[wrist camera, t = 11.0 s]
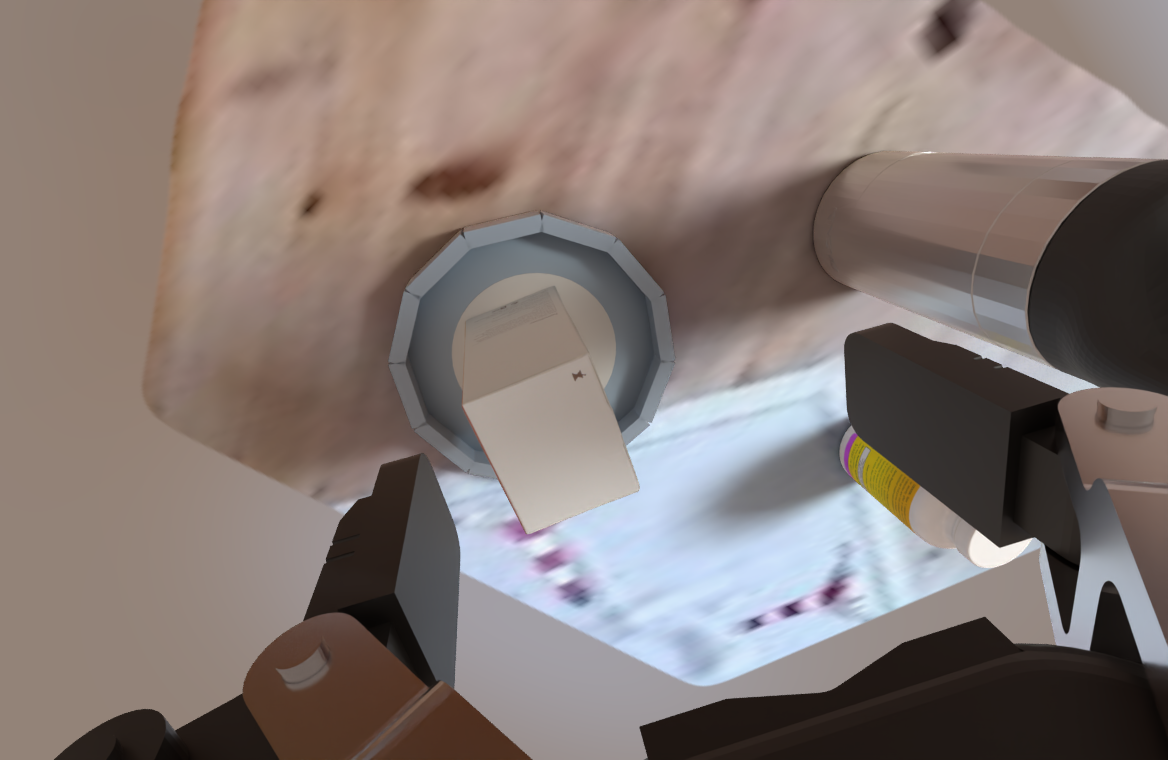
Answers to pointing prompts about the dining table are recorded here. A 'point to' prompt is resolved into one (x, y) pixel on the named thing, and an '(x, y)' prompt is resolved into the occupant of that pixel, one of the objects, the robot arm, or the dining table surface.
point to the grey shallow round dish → (510, 272)
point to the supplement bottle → (919, 506)
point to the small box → (542, 412)
